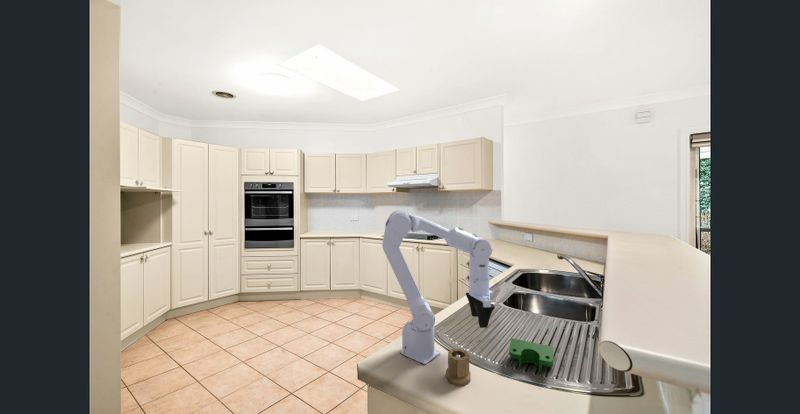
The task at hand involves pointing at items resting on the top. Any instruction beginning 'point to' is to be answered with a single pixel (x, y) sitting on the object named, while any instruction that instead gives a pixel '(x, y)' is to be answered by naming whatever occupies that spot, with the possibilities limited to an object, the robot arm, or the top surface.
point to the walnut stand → (457, 381)
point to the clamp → (531, 353)
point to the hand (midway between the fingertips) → (479, 321)
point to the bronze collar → (458, 364)
